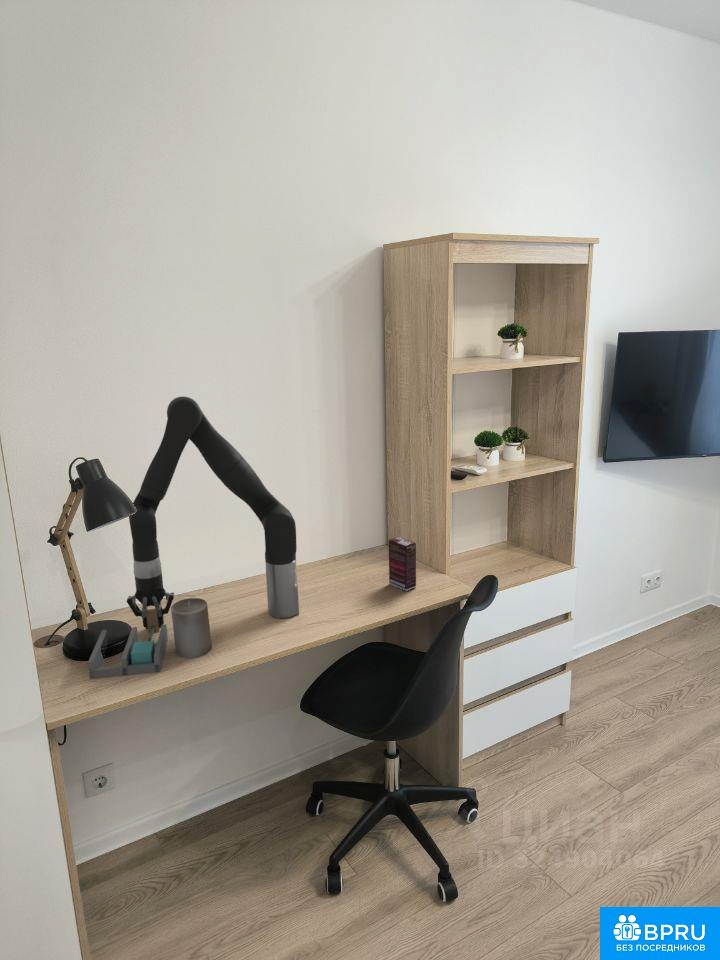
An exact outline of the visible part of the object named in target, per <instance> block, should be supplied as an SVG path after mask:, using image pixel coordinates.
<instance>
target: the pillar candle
mask: <svg viewBox="0 0 720 960" xmlns="http://www.w3.org/2000/svg"><path fill="white" fill-rule="evenodd" d="M170 612H171V619H172V620H171V621H172V630H173V638H174V639H173V640H174V645H175V647H174V648H175V654H176V656H178V657H180V658H183V659H196V658H197V659H198V658H201V657H204V656H206V655H207V654H209V653H210V652H211V650H212V646H213V645H212V637H211V627H210V617H209V609H208V602H207V601H206V600H205V599H203V598H199V597H198V598H197V597H191V598H183V599H180V600H179V601H176V602H174V603H173V604H171V606H170Z"/></svg>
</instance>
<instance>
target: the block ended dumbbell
mask: <svg viewBox="0 0 720 960" xmlns="http://www.w3.org/2000/svg"><path fill="white" fill-rule="evenodd" d="M146 616H147V625H148V629H147V631H148V632H147V633H148V637H147V640H146V641H138V642H135V643H134V646H133V649H132V652H131V659H132V664H131V665H135V664H145V663H154V653H155V649H156V646H155V640H152V638H153V636H154V633H158V632H159V633H160V630H161V628H159V625H158V614H157V611H156V609H155V608H147V613H146Z"/></svg>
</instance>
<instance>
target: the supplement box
mask: <svg viewBox="0 0 720 960" xmlns="http://www.w3.org/2000/svg"><path fill="white" fill-rule="evenodd" d="M388 570H389V571H388V573H389V574H388V575H389V577H388V579H389V585H390V584H391V585H390V586H392V585H393V587H395V588H397V587H398V588H397V589H399V588H400V590H402V589H403V590H402V591H404V590H405V591H404V592H408V590H409V591H411V590H410V589H412V588H414V589H416V588H417V543H416V542H414V541H411V540H408V539H406V538H403V537H400V536H397V537H394V538H390V539H388ZM415 587H416V588H415ZM412 590H413V589H412Z"/></svg>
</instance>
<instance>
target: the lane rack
mask: <svg viewBox="0 0 720 960" xmlns="http://www.w3.org/2000/svg"><path fill="white" fill-rule="evenodd" d="M106 634H107V635H108V630H107V629H101V632H100V634H99V637H98V639H97V641H96V643H95V645H94V648H93V650H92V652H91V654H90V656H89V659H88V662H87V665H88V672H89V678H90V679H91V680H92V679H93V680H95V679H103V678H105V679H106V678H113V677H124V676H134V675H146V674H147V675H148V674H155V673H161V670H162V666H163V661H164V658H165V655H166V654H165V653H166V649H167V645H168V640H169V637H168V627H167V624H165V623H164V624H163V625H162V627H161V628H160V630H159V634H158V638H157V642H156V646H155V653H154V663H145V664H135V665H132V659H131V652H132V649H133V646H134V643H135V642H139V634H138V627H137V626H134V627H133V626H132V627H131V630H130V633H129V635H128V638H127V641H126V644H125V646H124V649H123V651H122V652H123V653H122V655H121V657H120V661H121V662H120V663H121V665H116V666H105V667H104V666H103V667H101V665H102V663H103V661H104V658H103V655H102V653H101V645H102V643H103V640H104V638H105V636H106Z"/></svg>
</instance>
